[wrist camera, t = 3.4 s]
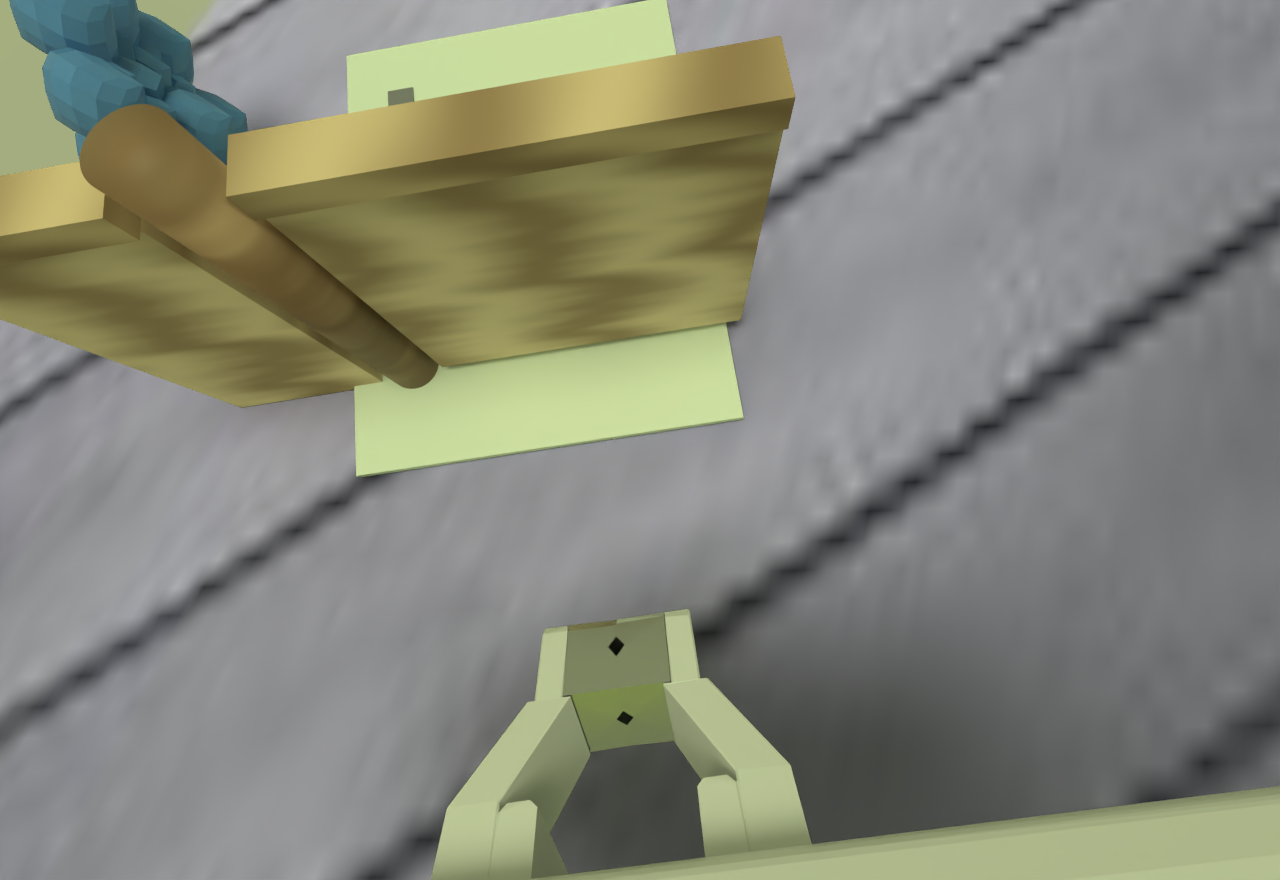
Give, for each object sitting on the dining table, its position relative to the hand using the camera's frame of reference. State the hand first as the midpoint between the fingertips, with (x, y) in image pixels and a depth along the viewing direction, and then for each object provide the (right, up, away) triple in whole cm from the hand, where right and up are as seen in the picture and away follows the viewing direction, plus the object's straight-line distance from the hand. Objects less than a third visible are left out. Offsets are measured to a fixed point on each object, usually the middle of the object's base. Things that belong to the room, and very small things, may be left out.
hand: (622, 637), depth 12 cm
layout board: (-5, +15, +18) cm, 24 cm away
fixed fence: (-14, +7, +16) cm, 23 cm away
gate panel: (-2, +9, +15) cm, 17 cm away
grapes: (-20, +16, +19) cm, 32 cm away
